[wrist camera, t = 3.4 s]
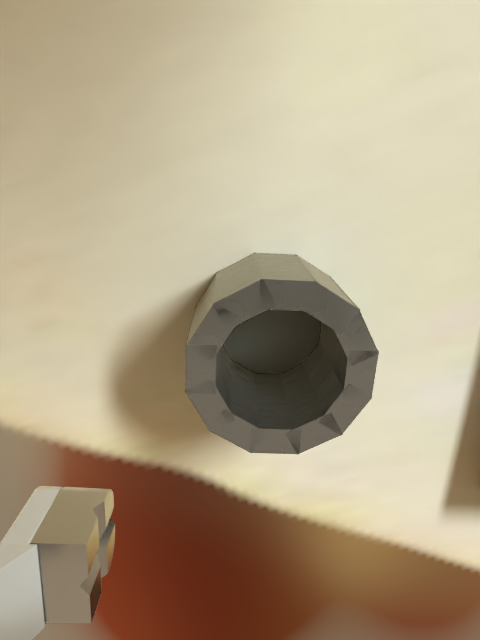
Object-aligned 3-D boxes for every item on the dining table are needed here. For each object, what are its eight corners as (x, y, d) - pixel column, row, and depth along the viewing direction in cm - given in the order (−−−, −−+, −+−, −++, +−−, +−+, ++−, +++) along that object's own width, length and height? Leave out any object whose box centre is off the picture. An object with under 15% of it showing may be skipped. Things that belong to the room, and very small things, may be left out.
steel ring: (196, 250, 18) (186, 275, 14) (353, 257, 19) (390, 283, 14) (194, 391, 20) (184, 451, 16) (335, 396, 21) (362, 456, 16)
